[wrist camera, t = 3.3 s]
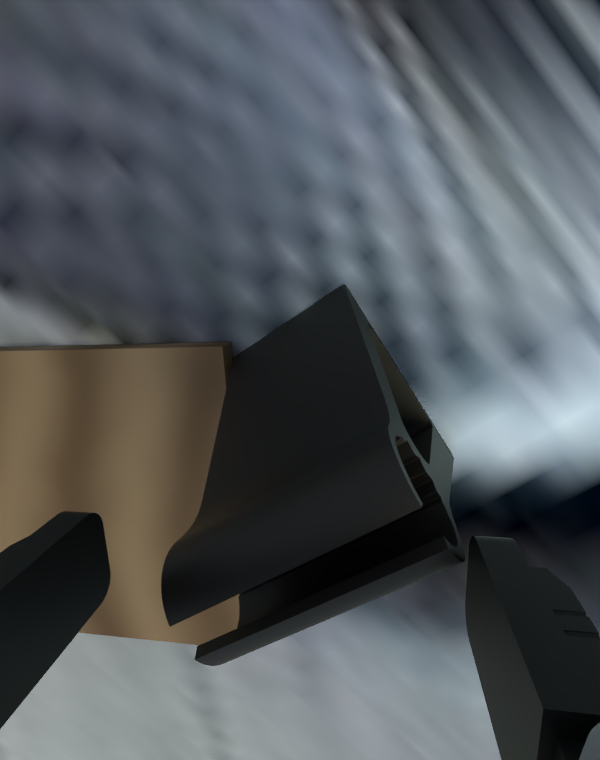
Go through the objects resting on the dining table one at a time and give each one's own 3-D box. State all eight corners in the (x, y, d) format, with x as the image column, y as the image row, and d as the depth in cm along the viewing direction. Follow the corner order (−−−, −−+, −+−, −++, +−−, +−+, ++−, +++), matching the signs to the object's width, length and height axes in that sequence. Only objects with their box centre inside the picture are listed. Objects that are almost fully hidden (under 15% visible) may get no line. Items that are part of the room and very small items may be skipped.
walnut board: (231, 341, 20) (222, 346, 19) (256, 631, 24) (250, 650, 23) (-64, 348, 23) (-87, 353, 22) (2, 607, 27) (-14, 622, 26)
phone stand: (235, 355, 20) (50, 472, 9) (346, 282, 19) (297, 309, 7) (339, 510, 21) (296, 794, 10) (452, 454, 20) (558, 718, 8)
